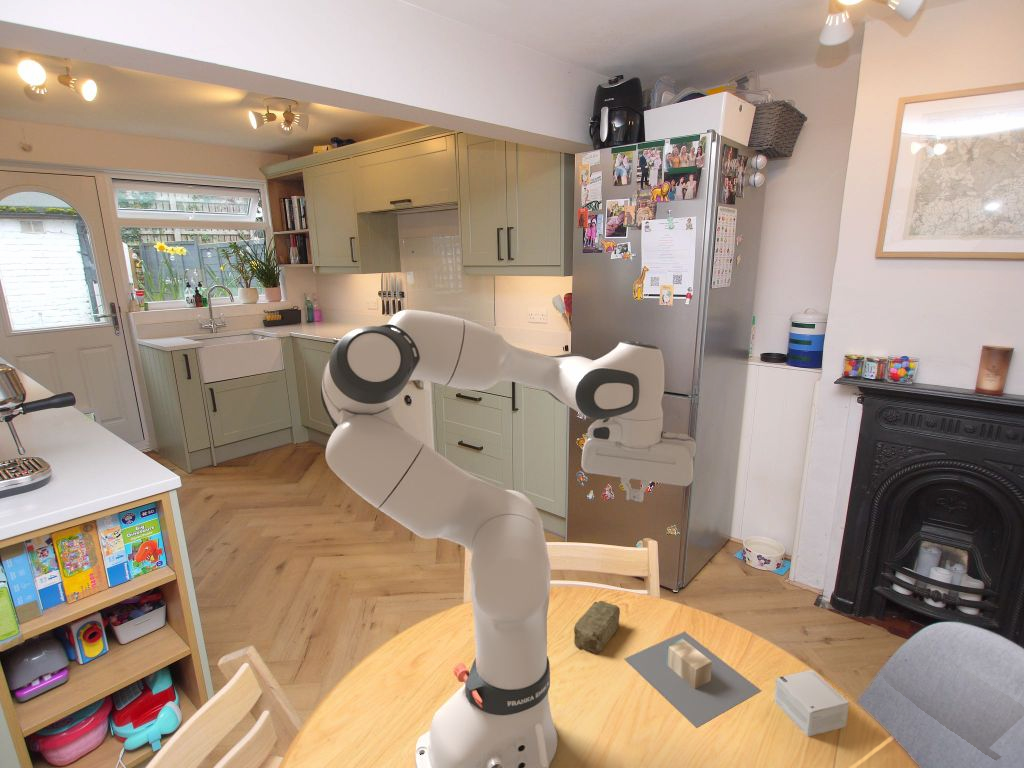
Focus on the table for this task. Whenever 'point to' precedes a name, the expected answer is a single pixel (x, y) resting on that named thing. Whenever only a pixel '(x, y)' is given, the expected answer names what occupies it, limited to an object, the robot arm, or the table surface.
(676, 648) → the birch block
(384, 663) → the table surface
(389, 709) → the table surface
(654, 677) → the rubber mat
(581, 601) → the table surface
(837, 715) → the small box
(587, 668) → the table surface
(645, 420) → the robot arm
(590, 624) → the stone block
